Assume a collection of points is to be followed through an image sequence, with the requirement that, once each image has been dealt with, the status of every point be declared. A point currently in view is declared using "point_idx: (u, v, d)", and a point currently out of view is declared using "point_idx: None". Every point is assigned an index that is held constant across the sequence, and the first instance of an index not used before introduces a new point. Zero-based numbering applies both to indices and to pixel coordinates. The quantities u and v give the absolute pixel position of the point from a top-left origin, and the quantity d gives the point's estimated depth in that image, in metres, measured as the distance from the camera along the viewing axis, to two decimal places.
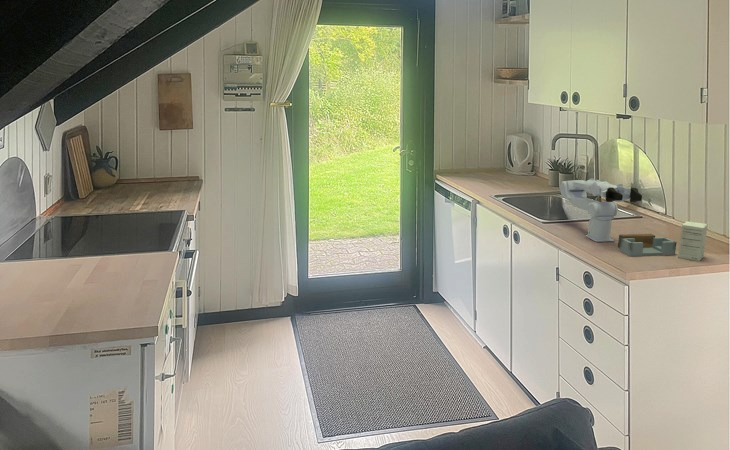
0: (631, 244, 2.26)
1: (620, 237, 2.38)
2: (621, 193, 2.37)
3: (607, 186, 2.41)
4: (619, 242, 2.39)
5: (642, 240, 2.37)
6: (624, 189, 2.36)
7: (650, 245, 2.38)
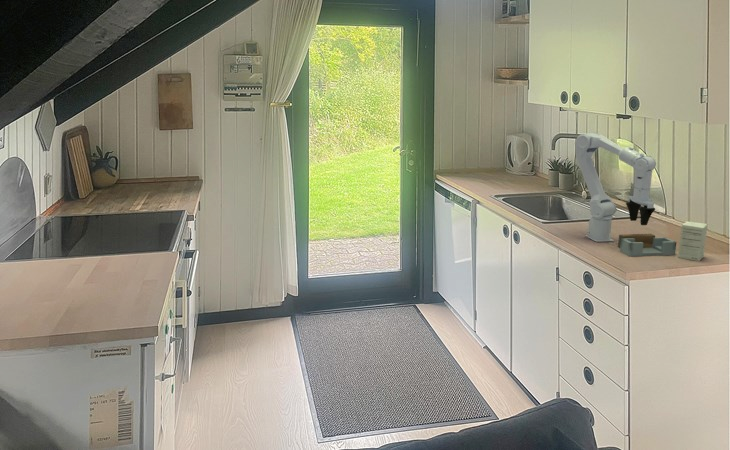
0: (631, 244, 2.26)
1: (620, 237, 2.38)
2: None
3: (645, 187, 2.31)
4: (619, 242, 2.39)
5: (642, 240, 2.37)
6: None
7: (650, 245, 2.38)
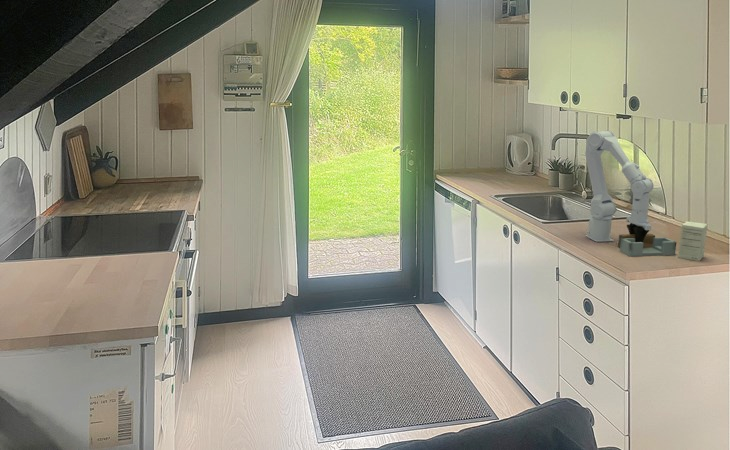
0: (631, 244, 2.26)
1: (620, 237, 2.38)
2: None
3: (643, 209, 2.33)
4: (619, 242, 2.39)
5: None
6: None
7: (650, 245, 2.38)
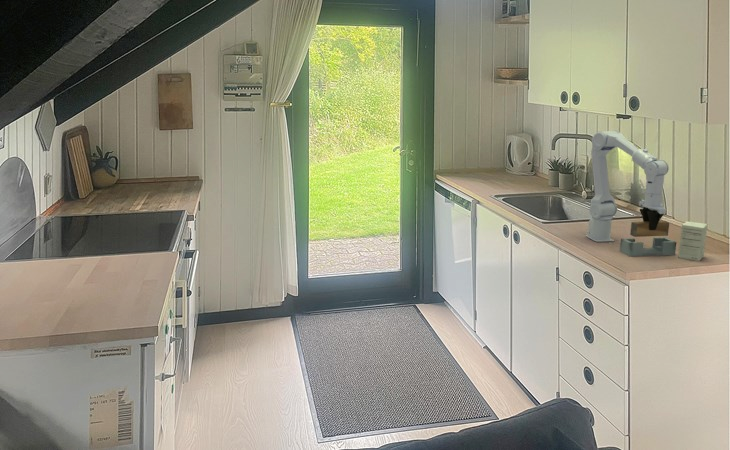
0: (631, 244, 2.26)
1: (633, 224, 2.29)
2: None
3: (655, 192, 2.23)
4: (632, 230, 2.30)
5: (656, 227, 2.28)
6: None
7: (664, 233, 2.29)
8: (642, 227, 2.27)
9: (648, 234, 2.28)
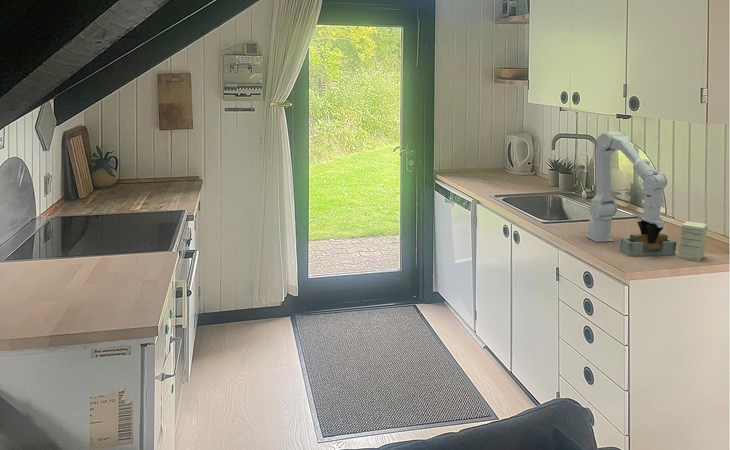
0: (631, 244, 2.26)
1: (631, 237, 2.30)
2: None
3: (654, 205, 2.25)
4: None
5: None
6: None
7: None
8: (641, 240, 2.28)
9: (647, 247, 2.29)
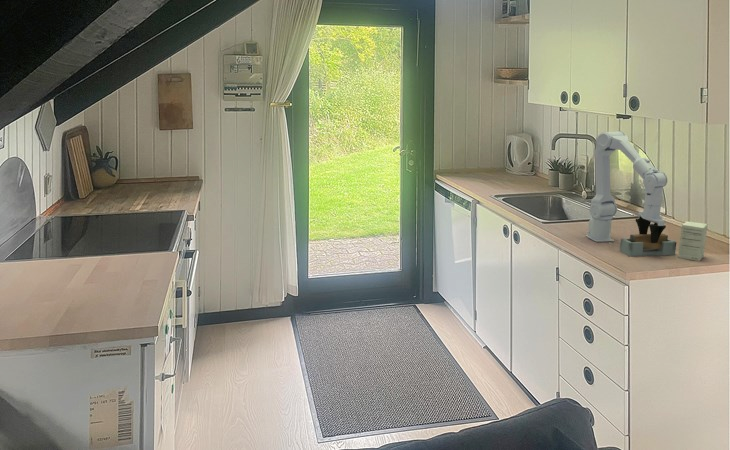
0: (631, 244, 2.26)
1: (631, 237, 2.30)
2: None
3: (654, 204, 2.24)
4: None
5: None
6: None
7: None
8: (641, 240, 2.28)
9: (647, 247, 2.29)
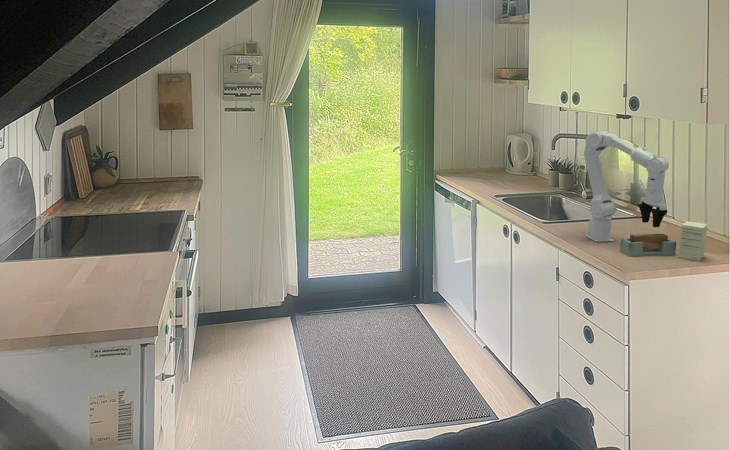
0: (631, 244, 2.26)
1: (631, 237, 2.30)
2: None
3: (658, 188, 2.28)
4: None
5: (654, 240, 2.29)
6: None
7: None
8: (641, 240, 2.28)
9: (647, 247, 2.29)
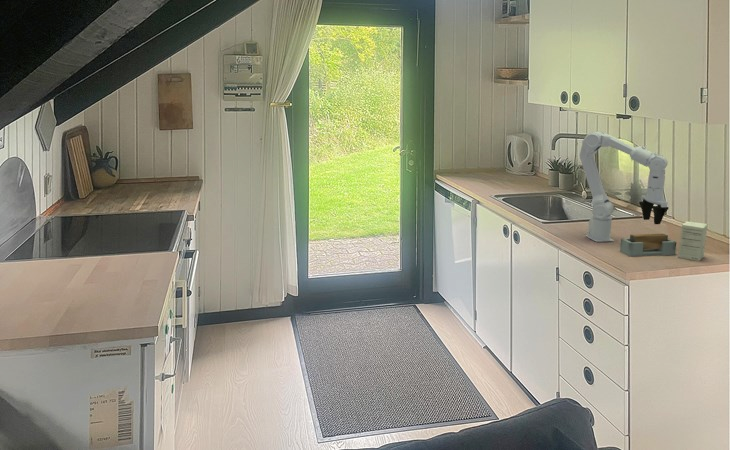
0: (631, 244, 2.26)
1: (631, 237, 2.30)
2: None
3: (661, 186, 2.33)
4: None
5: (654, 240, 2.29)
6: None
7: None
8: (641, 240, 2.28)
9: (647, 247, 2.29)
